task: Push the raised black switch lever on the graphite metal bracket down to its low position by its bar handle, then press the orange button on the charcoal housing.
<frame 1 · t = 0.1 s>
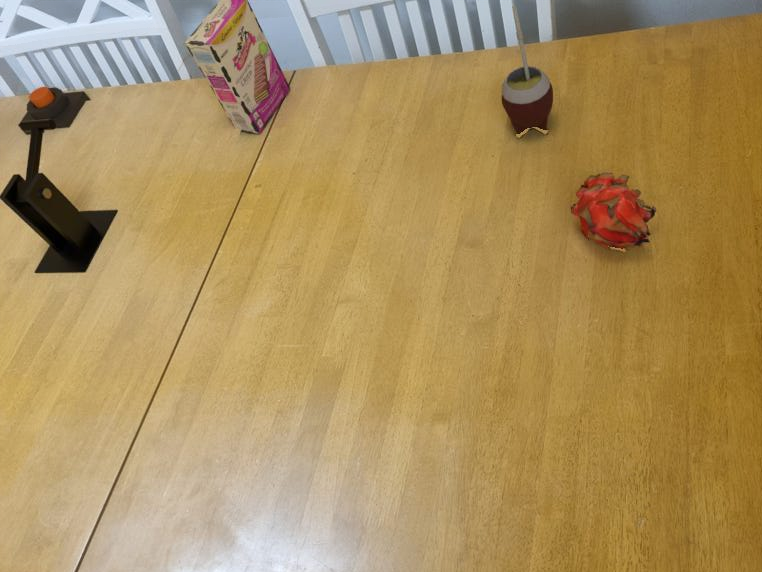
mate gourd: (531, 124, 105), on the table
dragon fruit: (615, 234, 91), on the table
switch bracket: (81, 245, 111), on the table
power button: (42, 97, 128), point 4 cm above the table, slide at 0.1 cm
candy bar box: (266, 111, 120), on the table
switch lever: (33, 161, 103), point 13 cm above the table, hinge at 25.0°
button box: (59, 118, 131), on the table
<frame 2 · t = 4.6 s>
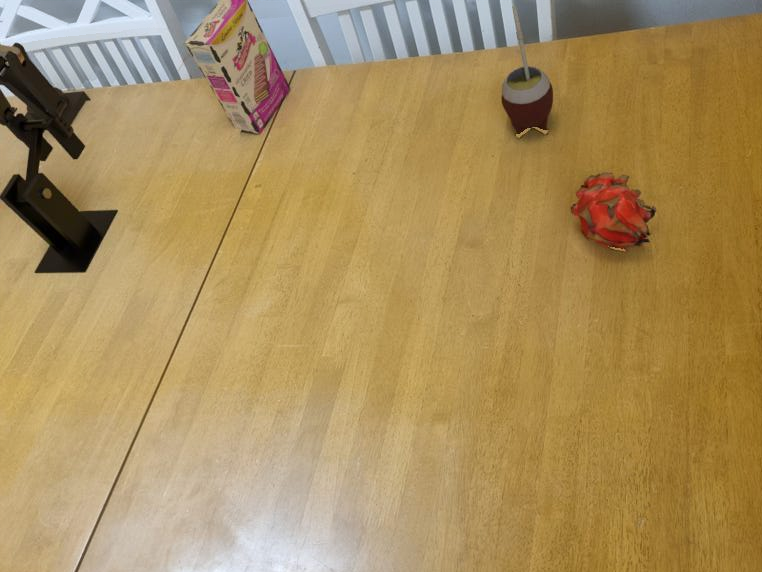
hand: (63, 153, 108), 10 cm above the table, tool pointing down, fingers closed on switch lever, 5 cm apart
switch lever: (33, 162, 103), point 13 cm above the table, hinge at 25.0°, touching gripper
everything else where it was.
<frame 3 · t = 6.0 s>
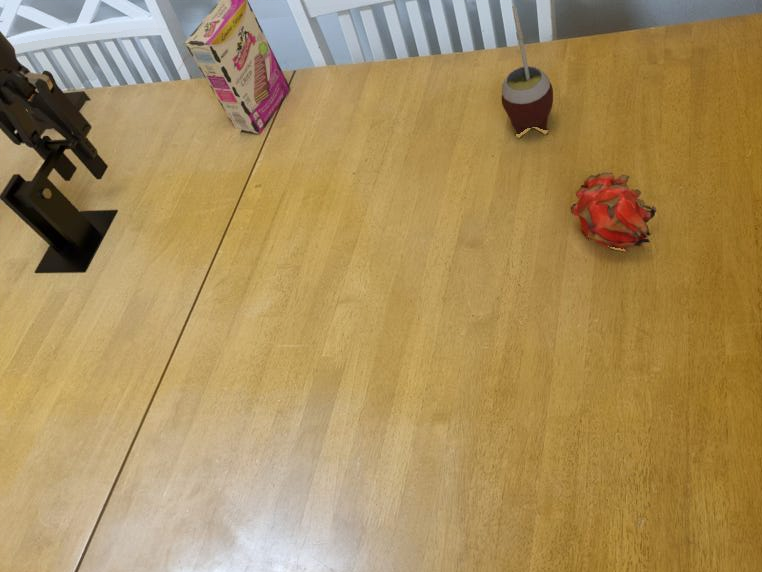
hand: (86, 173, 112), 5 cm above the table, tool pointing down, fingers closed on switch lever, 5 cm apart
switch lever: (45, 170, 105), point 11 cm above the table, hinge at -1.0°, touching gripper
everything else where it was.
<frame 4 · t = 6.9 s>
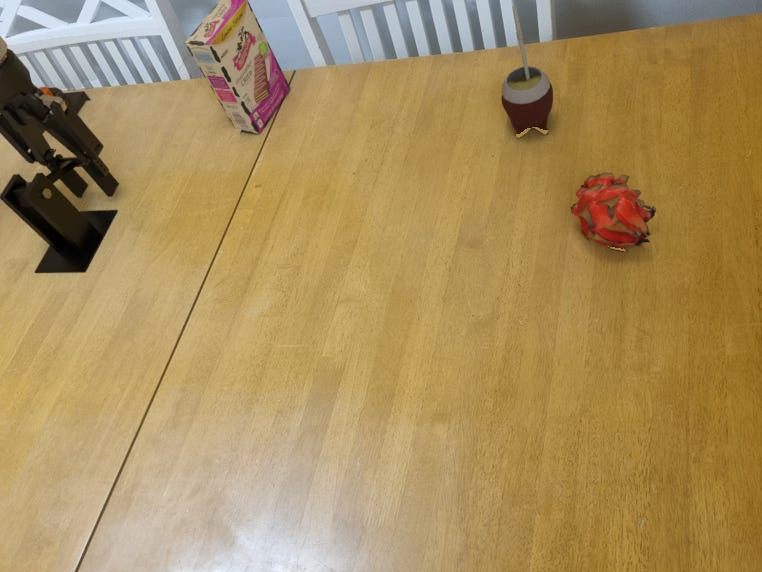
hand: (98, 190, 114), 2 cm above the table, tool pointing down, fingers closed on switch lever, 5 cm apart
switch lever: (51, 178, 106), point 10 cm above the table, hinge at -18.2°, touching gripper
everything else where it was.
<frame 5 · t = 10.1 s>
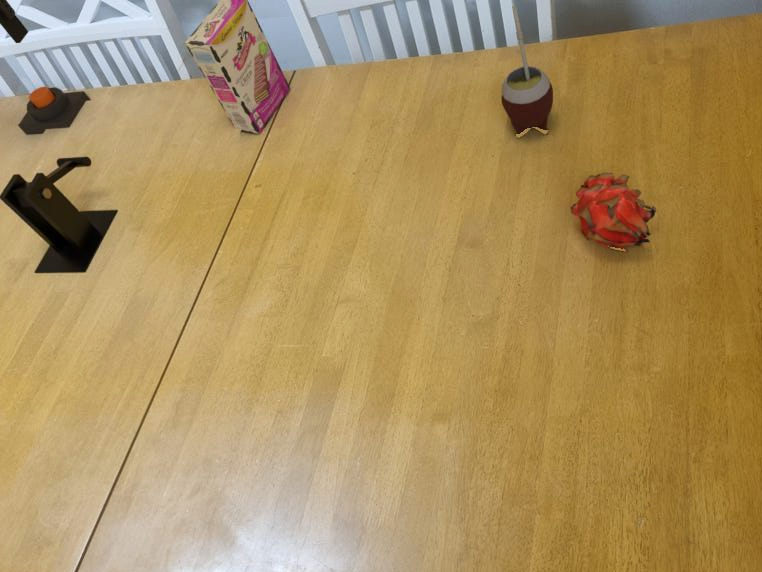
switch lever: (51, 178, 106), point 10 cm above the table, hinge at -18.5°
everything else where it was.
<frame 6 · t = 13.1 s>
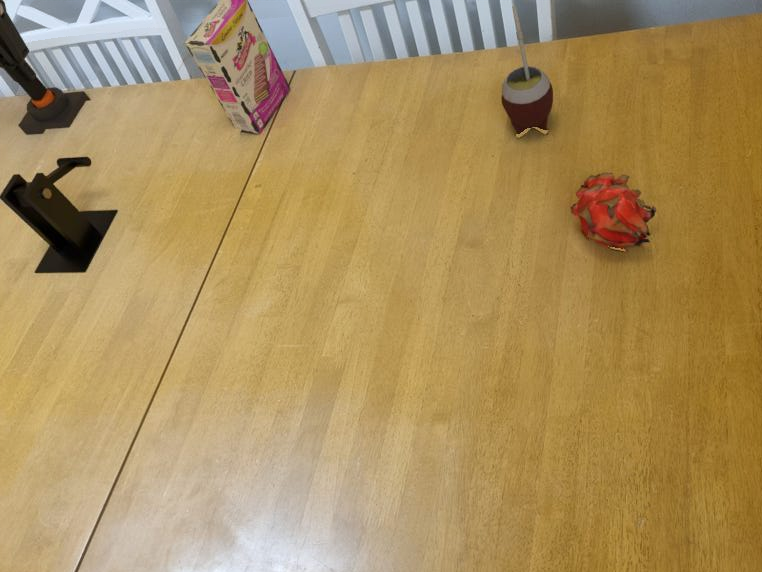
hand: (40, 94, 127), 5 cm above the table, tool pointing down, fingers closed
power button: (44, 100, 128), point 4 cm above the table, slide at -0.5 cm, touching gripper
everything else where it was.
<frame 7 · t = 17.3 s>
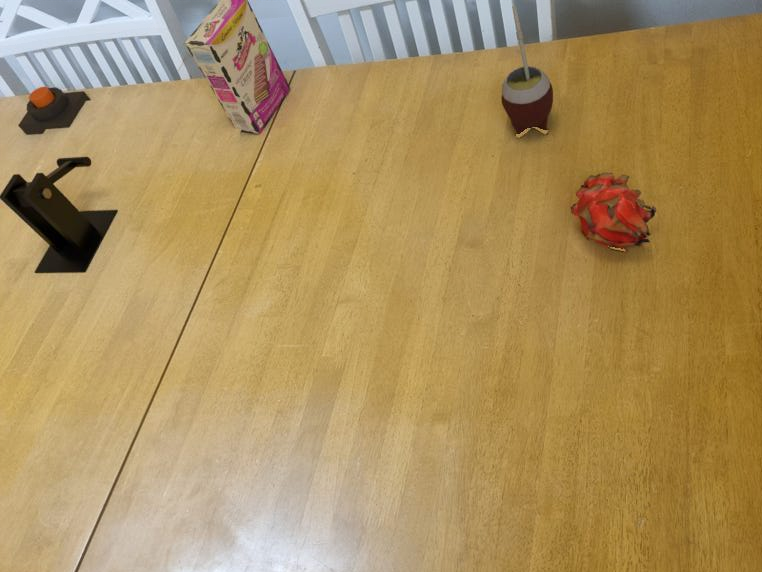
power button: (42, 97, 128), point 4 cm above the table, slide at 0.1 cm
everything else where it was.
at the end: switch lever at -18° (first picture: +25°); power button pushed in 1.0 cm at the most during the clip, back to where it started at the end; power button slide at 0.1 cm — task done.
